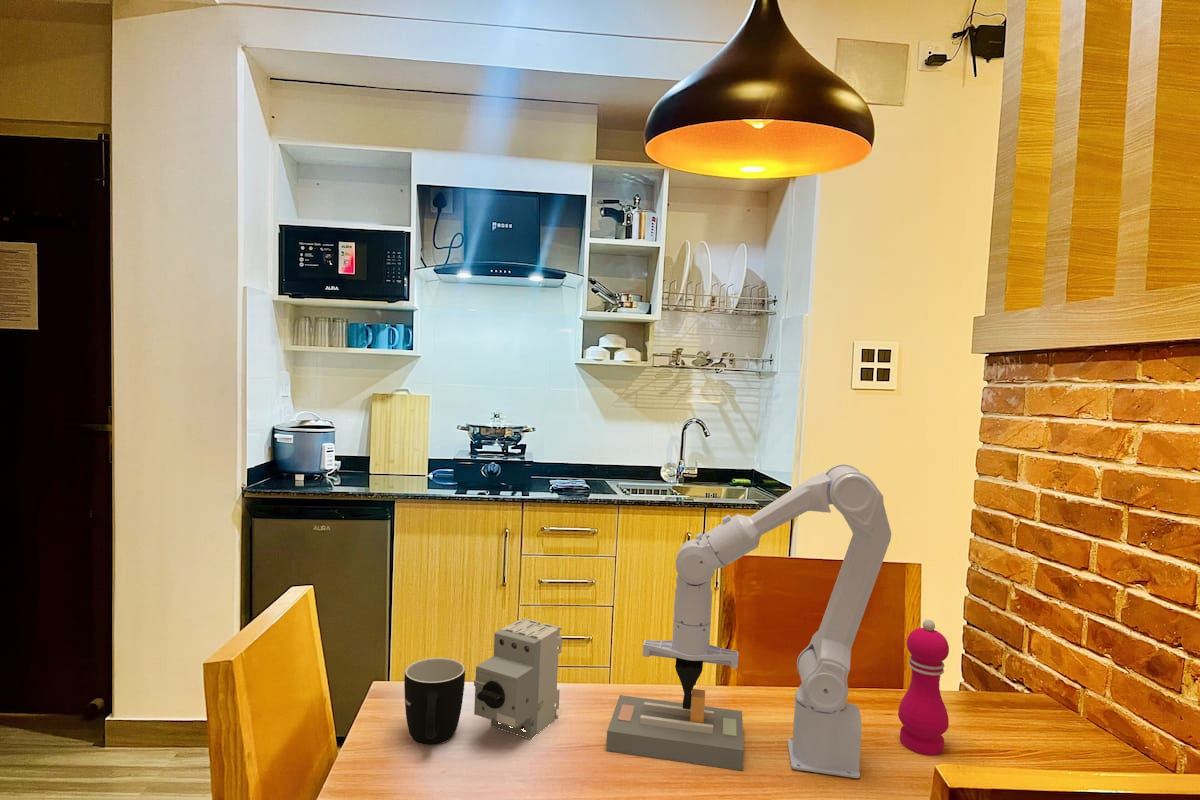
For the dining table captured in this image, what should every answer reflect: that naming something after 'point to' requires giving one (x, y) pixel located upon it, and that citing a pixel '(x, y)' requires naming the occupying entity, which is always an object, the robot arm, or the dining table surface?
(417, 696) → the mug
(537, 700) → the circuit breaker
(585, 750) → the dining table surface
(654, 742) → the slider control box
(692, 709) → the breaker lever
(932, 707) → the pepper mill
